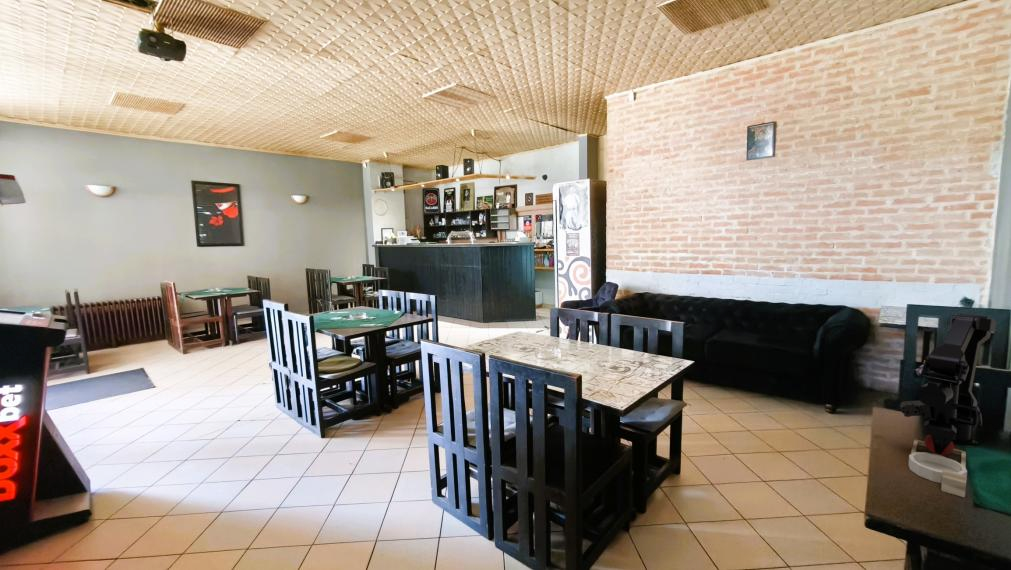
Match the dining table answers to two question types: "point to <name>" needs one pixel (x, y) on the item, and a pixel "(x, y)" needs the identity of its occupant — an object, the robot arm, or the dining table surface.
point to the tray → (955, 451)
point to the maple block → (953, 483)
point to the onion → (930, 447)
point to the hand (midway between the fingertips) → (938, 448)
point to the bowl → (934, 466)
